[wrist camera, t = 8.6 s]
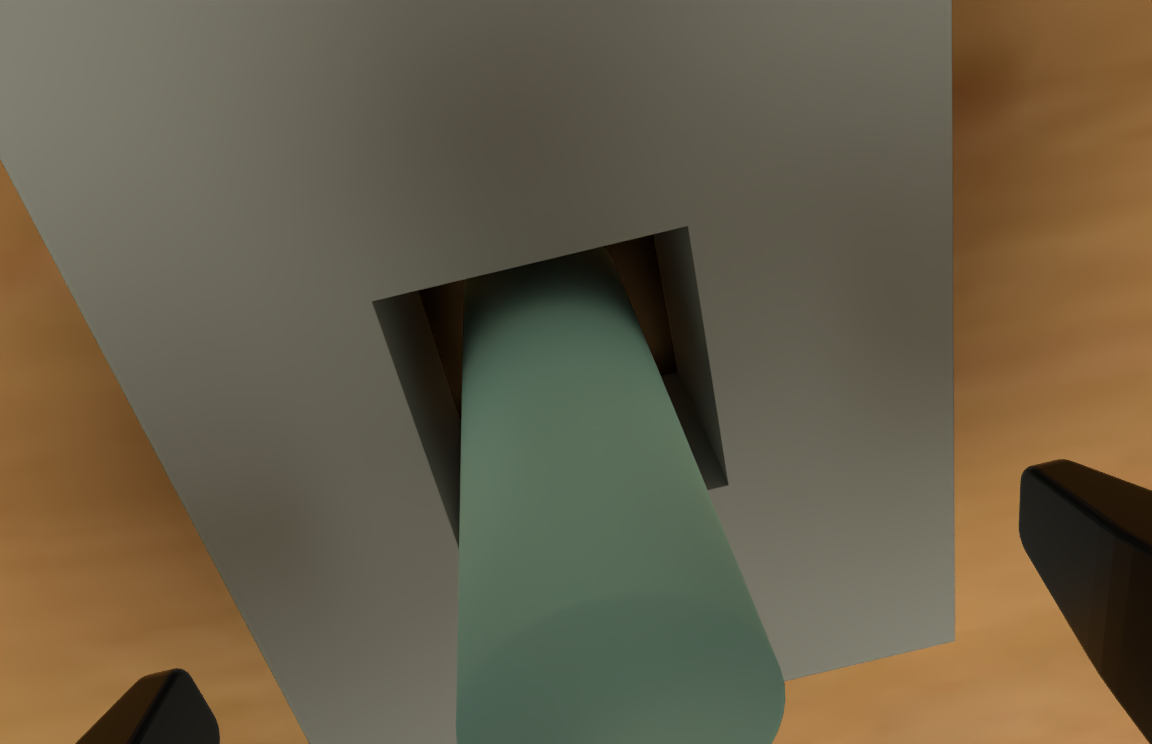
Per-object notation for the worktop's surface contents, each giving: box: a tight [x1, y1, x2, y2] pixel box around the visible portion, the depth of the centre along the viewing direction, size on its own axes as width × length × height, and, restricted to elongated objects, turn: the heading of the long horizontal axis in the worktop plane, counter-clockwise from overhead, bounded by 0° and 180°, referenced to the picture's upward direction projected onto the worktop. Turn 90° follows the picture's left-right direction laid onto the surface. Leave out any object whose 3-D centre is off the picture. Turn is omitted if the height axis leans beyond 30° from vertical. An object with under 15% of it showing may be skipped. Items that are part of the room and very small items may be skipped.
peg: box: [456, 246, 785, 744], centre depth 12 cm, size 3×3×10 cm
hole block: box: [0, 0, 955, 744], centre depth 15 cm, size 12×14×4 cm
